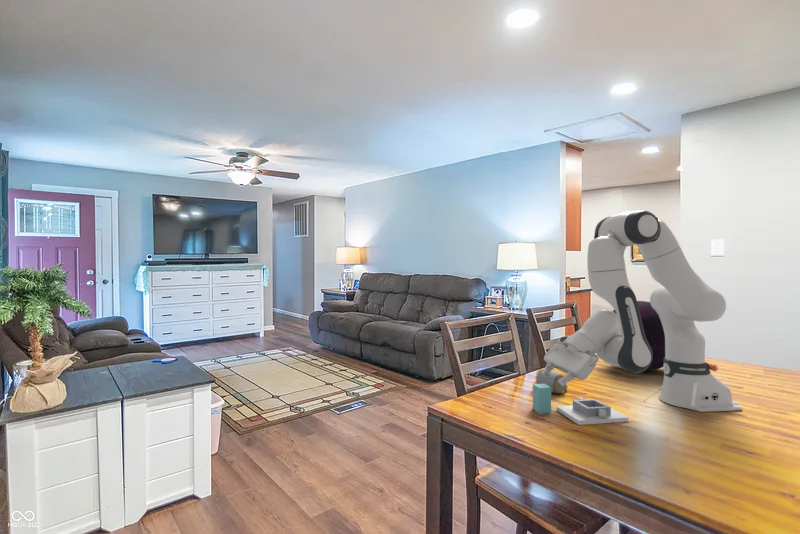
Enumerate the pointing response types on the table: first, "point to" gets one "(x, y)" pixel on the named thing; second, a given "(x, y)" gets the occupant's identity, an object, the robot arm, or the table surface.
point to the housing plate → (591, 412)
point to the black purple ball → (653, 333)
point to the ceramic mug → (551, 381)
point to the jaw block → (542, 398)
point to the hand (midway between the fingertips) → (551, 379)
